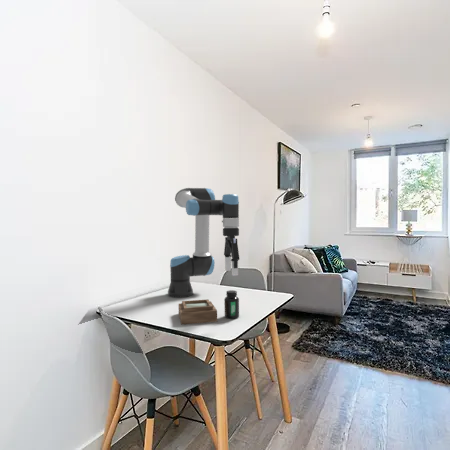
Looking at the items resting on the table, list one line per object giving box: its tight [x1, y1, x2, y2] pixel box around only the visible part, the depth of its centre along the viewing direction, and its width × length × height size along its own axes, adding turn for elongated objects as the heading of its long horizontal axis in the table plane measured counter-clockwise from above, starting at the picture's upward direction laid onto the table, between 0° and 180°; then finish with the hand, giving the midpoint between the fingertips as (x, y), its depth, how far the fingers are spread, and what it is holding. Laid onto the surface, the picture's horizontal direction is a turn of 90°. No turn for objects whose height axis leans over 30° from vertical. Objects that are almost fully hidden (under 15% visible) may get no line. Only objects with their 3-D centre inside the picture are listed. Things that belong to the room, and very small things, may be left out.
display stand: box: [178, 299, 218, 326], centre depth 148 cm, size 16×16×6 cm
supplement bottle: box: [224, 289, 240, 320], centre depth 148 cm, size 7×7×12 cm
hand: (231, 272), depth 148 cm, fingers open, 13 cm apart
